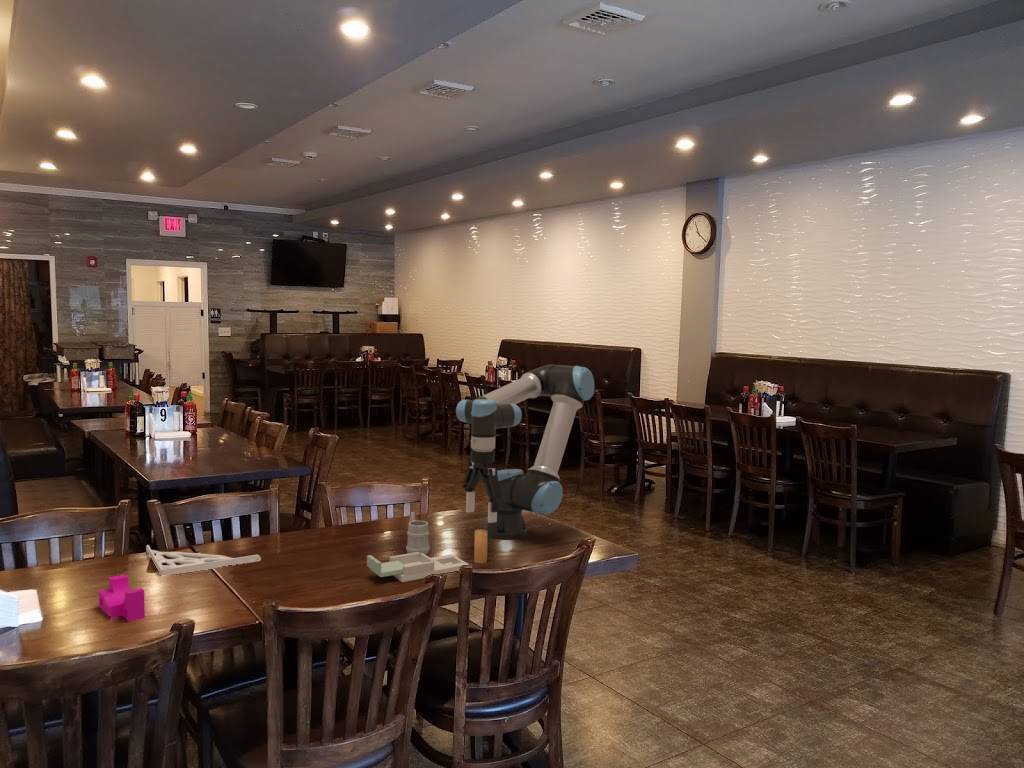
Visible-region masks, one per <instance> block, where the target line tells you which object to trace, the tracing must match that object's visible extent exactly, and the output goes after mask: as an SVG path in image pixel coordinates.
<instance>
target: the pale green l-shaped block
mask: <svg viewBox="0 0 1024 768" xmlns="http://www.w3.org/2000/svg"><path fill="white" fill-rule="evenodd" d="M403 566H405V565H404V564H402V563H401V562H399V561H392V562H389V561H388V562H386V561H385V562H381V561H380V560H379V559H377V558H376V557H374V556H373V555H371V554H369V555H366V567H368V568H369V569H370V571H372V572H373V573H374V574H376V575H377V576H378V577H380V578H384V577H390V576H393V575H396V574H401V573H403Z"/></svg>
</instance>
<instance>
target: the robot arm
mask: <svg viewBox="0 0 1024 768" xmlns="http://www.w3.org/2000/svg"><path fill="white" fill-rule="evenodd" d="M594 392H595V379H594V376H593V374H592V372H591V370H590V369H589V368H587V367H585V366H580V365H564V364H563V365H562V364H561V365H560V364H547V365H543V366H539V367H537V368H534V369H532V370H530V371H527V372H525V373H523V374H522V375H521V376H520V378H519V379H517V380H514V381H512V382H510V383H508V384H505V385H503V386H501V387H499V388H497V389H495V390H493V391H490V392H488V393H486V394H483V395H482V396H479V397H478V398H475V399H472V400H471V399H462V400H460V401H459V402H458V403H457V405H456V408H455V413H456V414H455V415H456V418H457V419H458V420H459V421H460V422H462V423H467V424H471V425H470V426H471V430H470V431H471V434H470V437H471V438H470V449H471V450H470V461H468V463H467V470H466V472H465V476H464V479H463V482H462V489H464V490H465V494H466V495H465V497H466V498H465V500H466V501H465V502H466V503H465V513H474V512H475V507H476V504H475V502H476V492H475V491H476V486H477V485H478V483H479V481H481V482H482V483H483V484H484V486H485V490H486V492H487V494H488V495H487V496H488V497H489V498H488V502H487V503H488V505H487V508H488V509H487V518H486V521H485V525H484V526H483V527H484V528H483V530H487V531H488V537H487V538H488V539H494V540H499V541H500V540H501V541H512V540H513V541H514V540H519V539H520V540H521V539H522V538H525V537H526V536H527V526H526V522H525V518H524V516H523V511H526V512H529V513H530V512H531V513H534V514H537V515H539V514H541V515H550V514H552V513H553V512H555V511H556V510H557V509H558V508H559V506H560V504H561V502H562V500H563V496H564V492H563V489H564V488H563V486H562V484H561V483H560V482H561V478H560V476H559V474H558V472H559V470H560V466H561V463H562V459H563V456H564V453H565V451H566V447H567V445H568V439H569V436H570V433H571V431H572V426H573V423H574V420H575V417H576V413H577V411H578V410H579V409H581V408H583V405H584V402H585V401H589V400H591V399H592V397H593V396H594V394H595V393H594ZM542 396H543V397H550V400H551V401H552V402H553V403H552V407H551V410H550V413H549V417H548V419H547V423H546V426H545V429H544V431H543V435H542V439H541V443H540V444H539V448H538V451H537V455H536V458H535V461H534V463H533V466H531V467H530V468H528V469H527V471H526V472H527V473H526V474H524V471H523V470H522V469H521V468H520V469H519V468H510V469H507V468H506V469H501V470H498V469H497V467H495V468H492V464H493V463H495V457H496V456H495V455H496V451H495V449H496V430H497V429H504V428H505V429H507V428H509V429H510V428H513V427H516V426H518V425H519V424H520V423H521V421H522V416H523V415H522V410H521V408H520V407H519V406H518V405H517V404H519V403H521V402H523V401H525V400H527V399H536V398H538V397H542Z"/></svg>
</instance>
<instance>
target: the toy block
mask: <svg viewBox="0 0 1024 768" xmlns="http://www.w3.org/2000/svg"><path fill="white" fill-rule="evenodd" d="M99 607H100V608H101V609H102V610H101V609H100V608H99ZM98 608H99V609H100V610H101V611H102V612H103V613H104V614H106V613H107V614H106V616H108V617H109V616H110V617H111V618H114V619H116V618H115V617H118V618H120V617H119V616H123V617H122V618H124V617H125V618H126V619H127V620H128V621H131V622H133V621H132V620H135V621H137V620H136V619H139V620H142V619H141V618H143V619H145V618H146V617H145V615H146V612H145V589H143V588H142V587H139V588H135V589H131V588H130V583H129V577H128V575H126V574H120V575H115V576H110V577H108V588H107V589H102V590H98ZM110 617H109V618H110ZM111 618H110V619H111ZM125 618H124V619H125ZM126 619H125V620H126ZM127 620H126V621H127ZM128 621H127V622H128Z"/></svg>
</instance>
